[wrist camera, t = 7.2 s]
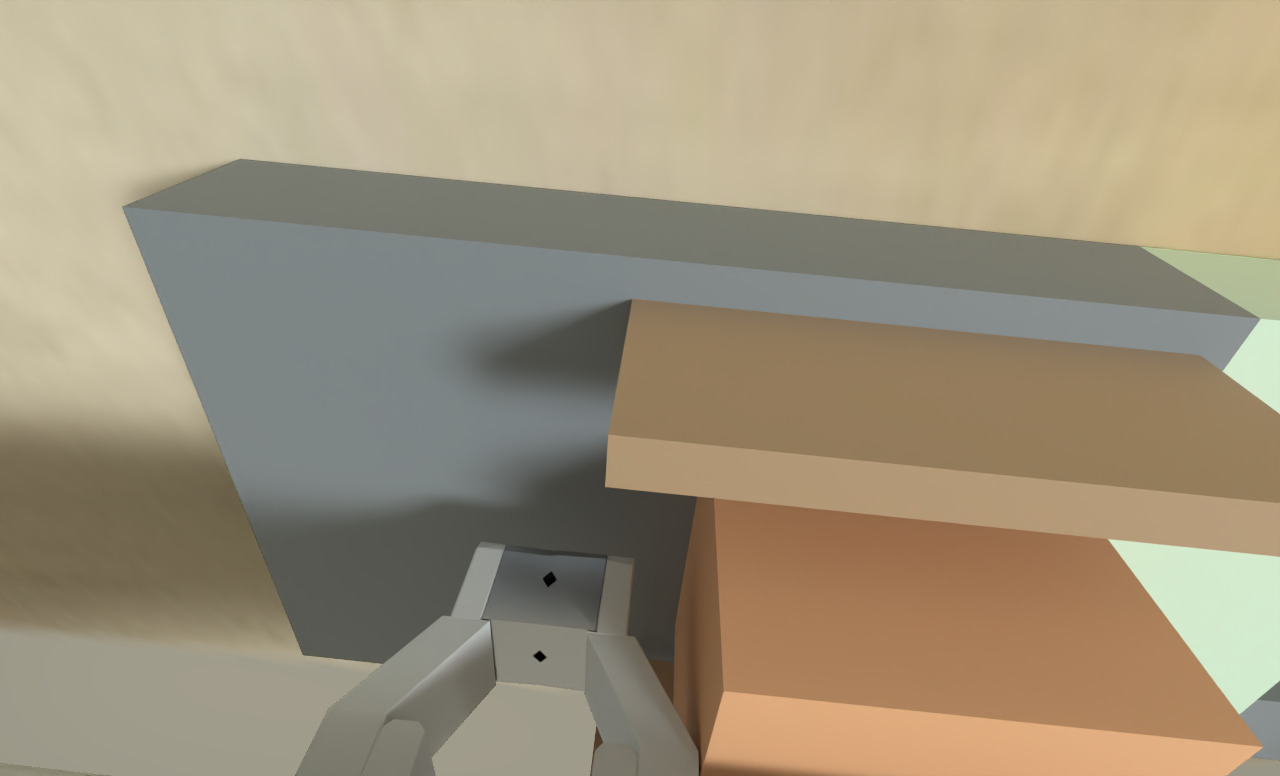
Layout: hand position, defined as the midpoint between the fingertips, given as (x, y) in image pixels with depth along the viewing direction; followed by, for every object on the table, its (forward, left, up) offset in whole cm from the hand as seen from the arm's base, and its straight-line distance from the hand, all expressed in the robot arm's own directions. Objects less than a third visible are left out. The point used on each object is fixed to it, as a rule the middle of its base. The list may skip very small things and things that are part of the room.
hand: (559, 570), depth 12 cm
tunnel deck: (+7, -6, -4) cm, 10 cm away
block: (+4, -3, -1) cm, 6 cm away
